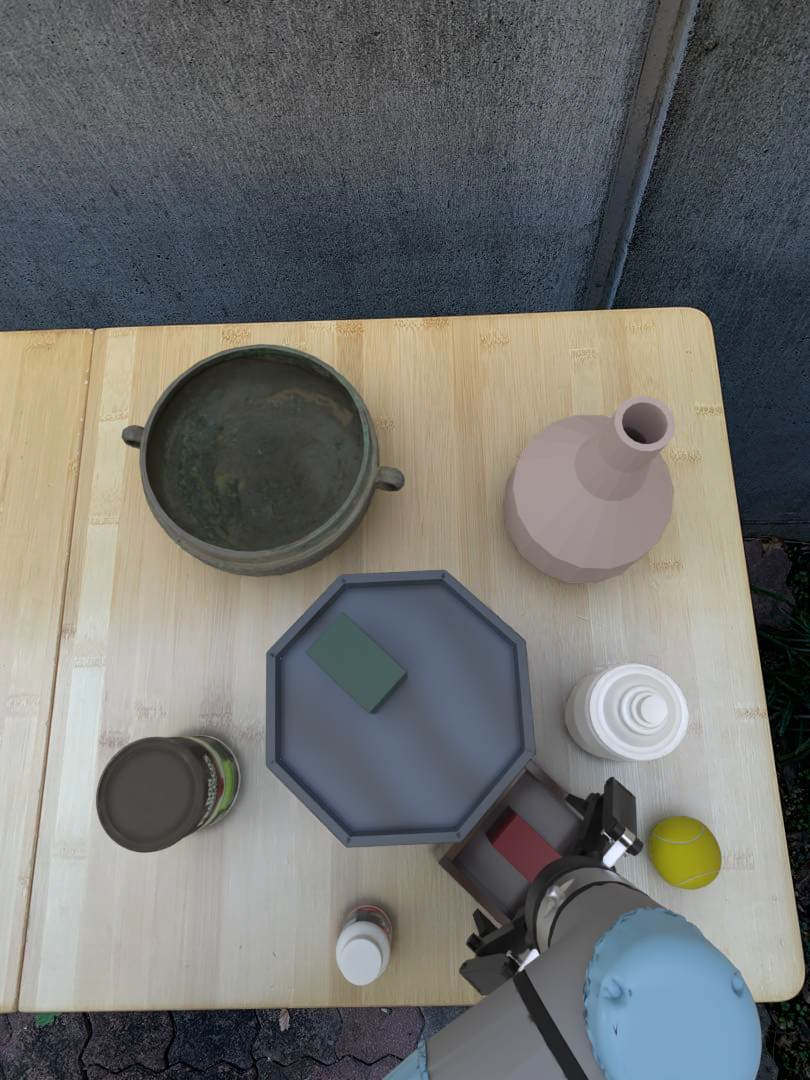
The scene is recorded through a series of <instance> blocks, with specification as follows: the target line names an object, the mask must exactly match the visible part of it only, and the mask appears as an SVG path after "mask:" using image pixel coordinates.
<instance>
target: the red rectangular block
mask: <svg viewBox="0 0 810 1080" xmlns="http://www.w3.org/2000/svg"><path fill="white" fill-rule="evenodd" d="M485 835H486V836H487V838H488V840H489V842H490V843H491V845H492V846H493V847H494V848H495V849H496V850H497V851H498V852H499V853H500V854H501V855H502V856H503V857H504V858H505V859H506V860H507V861H508V862H509V863H510V864H511V865H512V866H514V867H515V868H516V869H517V870H518V871H519V872H520V873H521V874H522V875H523V876H524V877H525V878H526V879H527V880H528V881H529V882H530V883H531V884H532V882H533V880H534V879H535V877H536V876H537V874H538V873H539V872H540V871H541V870H542V869H543V868H544V867H545V866H546V865H548V864H549V863H551V862H553V861H554V860H557V859H559V858H562V856H561V855H560V854H559V853H558V852H557V851H556V850H555V849H554V848H553V847H552V846H551V845H550V844H549V843H548V842H546V841H545V840H544V839H543V838H542V837H541V836H540V835H539V834H538V833H537V832H536V831H535V830H534V829H533V828H532V827H531V826H529V825H528V824H527V823H526V822H525V821H524V820H523V819H522V818H521V817H520V816H519V815H518V814H517V813H516V812H515V811H514V810H512V809H511V808H510V807H509V806H508V807H507V808H506V809H505V810H504V812H503V813H502V814H501V815H500V816H499V818H498V819H497V820H496V821H495V822H494V824H493V825H492V826H491V827H490V829H489V830H488V831H487V832H486V833H485Z"/></svg>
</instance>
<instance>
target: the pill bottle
mask: <svg viewBox="0 0 810 1080" xmlns="http://www.w3.org/2000/svg"><path fill="white" fill-rule="evenodd" d="M392 940H393V927H392V922H391V920H390V918H389V917H388V914H386V913H385V912H384V910H383V909H381V908H379V907H377V906H375V905H368V904H365V905H360V906H358V907H356V908H354V909H353V910H352V911H350V913H349V914H348V915H347V917H346V918H345V920H344V923H343V925H342V928H341V931H340V934H339V936H338V939H337V942H336V945H335V959H336V960H335V961H336V964H337V966H338V968H339V970H340V972H341V973H342V975H343V977H344V978H345V979H346V980H347V981H348V982H349V983H350V984H352V985H355V986H359V987H360V986H366V985H369V984H371V983H372V982H374V981H376V980H377V979H379V978H380V977H381V976H382V975H383V974H384V972H385V971H386V969H387V967H388V965H389V962H390V959H391V952H392V951H391V948H392Z"/></svg>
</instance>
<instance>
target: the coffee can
mask: <svg viewBox="0 0 810 1080" xmlns="http://www.w3.org/2000/svg"><path fill="white" fill-rule="evenodd" d="M241 783H242V774H241V768H240V764H239V761H238V759H237V757H236V755H235V753H234V752H233V750H232V749H231V748H230V747H229V745H227V744H226V743H225V742H224V741H222V740H221V739H219V738H217V737H214V736H211V735H207V734H193V735H183V736H168V737H167V736H149V737H142V738H140V739H137V740H134V741H132V742H130V743H129V744H128V743H127V744H126V745H125V746H123V747H122V748H120V750H118V751H117V752H116V753H115V754H114V755H113V756H112V757H111V758H110V760H109V761H108V762H107V764H106V766H105V767H104V768H103V770H102V772H101V774H100V777H99V780H98V783H97V786H96V793H95V807H96V814H97V817H98V820H99V823H100V826H101V827H102V829H103V830H104V832H105V833H106V834H107V836H108V837H109V838H110V839H111V840H112V841H113V842H114V843H115V844H116V845H118V846H120V847H122V848H123V849H126V850H128V851H131V852H135V853H141V854H145V853H146V854H147V853H156V852H159V851H163V850H166V849H169V848H171V847H172V846H174V845H176V844H178V843H179V842H180V841H181V840H182V839H185V838H186V837H188V836H190V835H192V834H195V833H197V832H198V831H200V830H202V829H204V828H207V827H209V826H212V825H214V824H215V823H217V822H219V821H221V820H222V819H223V818H224V817H225V816H226V815H227V814H228V813H229V812H230V810H231V809H232V808H233V806H234V804H235V802H236V800H237V798H238V796H239V793H240V790H241Z"/></svg>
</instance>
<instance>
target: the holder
mask: <svg viewBox="0 0 810 1080" xmlns="http://www.w3.org/2000/svg"><path fill="white" fill-rule="evenodd" d="M568 794H569V793H568V792H566V791H565V789H563V788H562V787H561V786H560V785H559V784H558V783H556V782H555V780H554V779H552V778H551V777H550V776H549V775H548V774H547V773H546V772H544V771H543V769H541V768H540V767H539V766H538V765H537V764H536V763H535V762H534V761H533V760H532V759H531V760H530V761H529V762H528V763H527V765H526V766H525V767H524V768H523V769H522V771H521V772H520V773H519V774H518V775H517V777H516V778H515V779H514V780H513V781H512V783H511V784H510V785H509V786H508V787H507V789H506V790H505V791H504V792H503V793H502V795H501V796H500V797H499V798H498V799H497V801H496V802H495V803H494V804H493V806H492V807H491V808H490V809H489V810H488V812H487V813H486V814H485V815H484V816H483V818H482V819H481V820H480V821H479V822H478V824H477V825H476V826H475V827H474V828H473V830H472V831H471V832H470V833H469V834H468V836H467V837H466V838H465V839H464V840H463V842H461V843H439V845H438V846H437V848H436V849H435V854H436V861H437V864H438V865H439V866H440V867H441V868H442V869H443V870H444V871H445V872H446V873H447V874H448V875H449V876H451V878H452V879H454V880H455V881H456V883H458V885H460V886H461V887H462V889H463V890H465V892H467V893H468V894H469V896H471V897H472V898H473V899H474V900H475V901H476V902H477V904H478V905H479V906H481V907H482V908H483V909H484V910H485V911H486V912H487V913H488V914H489V916H491V917H492V918H493V919H494V920H495V921H496V922H497V923H498V924H500V927H502V926H503V925H505V924H507V923H509V922H510V921H512V920H514V918H515V916H516V914H517V911H518V909H519V908H521V907H522V906H524V905H525V904H526V899H527V894H528V891H529V888H530V886H531V883H530V882H529V881H528V880H527V879H526V878H525V877H524V876H523V875H522V874H521V873H520V872H519V871H518V870H517V869H516V868H515V867H514V866H512V865H511V864H510V863H509V862H508V861H507V860H506V859H505V858H504V857H503V856H502V855H501V854H500V853H499V852H498V851H497V850H496V849H495V848H494V847H493V846H492V845H491V843H490V842H489V840H488V838H487V836H486V835H485V833H486V832H487V831H488V830H489V829H490V827H491V826H492V825H493V824H494V822H495V821H496V820H497V819H498V818H499V816H500V815H501V814H502V813H503V812H504V810H505V809H506V808H507V807H508V806H509V807H510V808H511V809H512V810H514V811H515V812H516V813H517V814H518V815H519V816H520V817H521V818H522V819H523V820H524V821H525V822H526V823H527V824H528V825H529V826H531V827H532V828H533V829H534V830H535V831H536V832H537V833H538V834H539V835H540V836H541V837H542V838H543V839H544V840H545V841H546V842H548V843H549V844H550V845H551V846H552V847H553V848H554V849H555V850H556V851H557V852H558V853H559V854H560V855H561V856H562V857H564V855H565V852H566V849H567V847H568V846H569V845H570V844H571V843H573V842H574V841H575V840H576V839H577V836H578V833H579V831H580V828H581V825H582V822H583V819H584V817H583V816H582V815H581V814H580V813H579V812H578V811H577V810H576V809H574V808H573V807H572V806H571V805H570V804H569V803H568V802H567V801H566V800H565V798H566V797H567V796H568Z"/></svg>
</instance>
